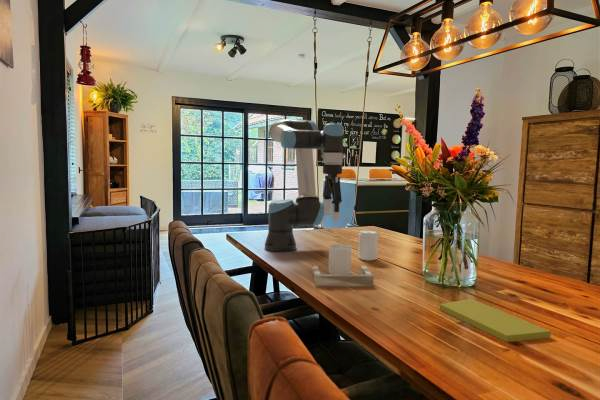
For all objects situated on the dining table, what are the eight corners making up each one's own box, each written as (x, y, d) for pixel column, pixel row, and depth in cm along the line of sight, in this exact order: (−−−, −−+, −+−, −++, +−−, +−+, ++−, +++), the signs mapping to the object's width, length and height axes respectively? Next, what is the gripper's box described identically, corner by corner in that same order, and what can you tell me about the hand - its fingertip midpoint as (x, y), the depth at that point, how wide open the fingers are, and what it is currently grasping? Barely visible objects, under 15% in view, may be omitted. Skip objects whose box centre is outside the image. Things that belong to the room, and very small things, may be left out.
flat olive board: (439, 311, 111) (515, 348, 89) (439, 304, 111) (516, 339, 89) (470, 305, 116) (550, 339, 94) (471, 298, 115) (550, 331, 94)
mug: (321, 268, 152) (321, 242, 151) (340, 267, 154) (341, 241, 153) (334, 277, 140) (334, 249, 139) (354, 275, 143) (355, 248, 142)
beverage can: (356, 260, 166) (357, 232, 165) (360, 255, 173) (361, 229, 172) (375, 262, 163) (376, 234, 162) (378, 257, 170) (379, 230, 169)
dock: (312, 275, 143) (312, 265, 143) (365, 275, 144) (365, 265, 144) (315, 286, 130) (315, 276, 130) (373, 286, 131) (373, 276, 131)
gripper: (316, 163, 163) (315, 213, 165) (331, 164, 138) (329, 222, 141) (333, 163, 164) (332, 213, 166) (351, 164, 140) (349, 222, 142)
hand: (331, 217), depth 154 cm, fingers open, 13 cm apart
